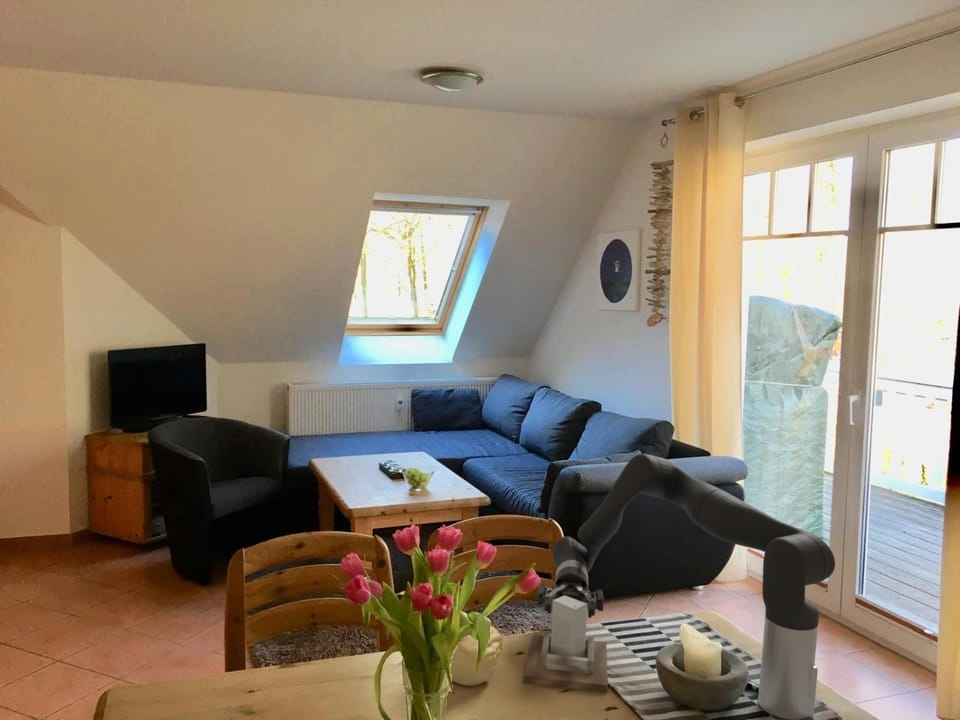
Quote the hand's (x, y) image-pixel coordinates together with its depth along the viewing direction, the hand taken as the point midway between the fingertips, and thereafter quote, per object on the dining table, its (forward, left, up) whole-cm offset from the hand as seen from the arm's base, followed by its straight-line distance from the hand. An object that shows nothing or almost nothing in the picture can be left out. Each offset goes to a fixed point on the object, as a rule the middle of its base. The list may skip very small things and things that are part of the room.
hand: (569, 611), depth 163 cm
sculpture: (+19, +13, -10) cm, 25 cm away
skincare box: (0, +4, -8) cm, 9 cm away
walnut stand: (0, +4, -10) cm, 11 cm away
